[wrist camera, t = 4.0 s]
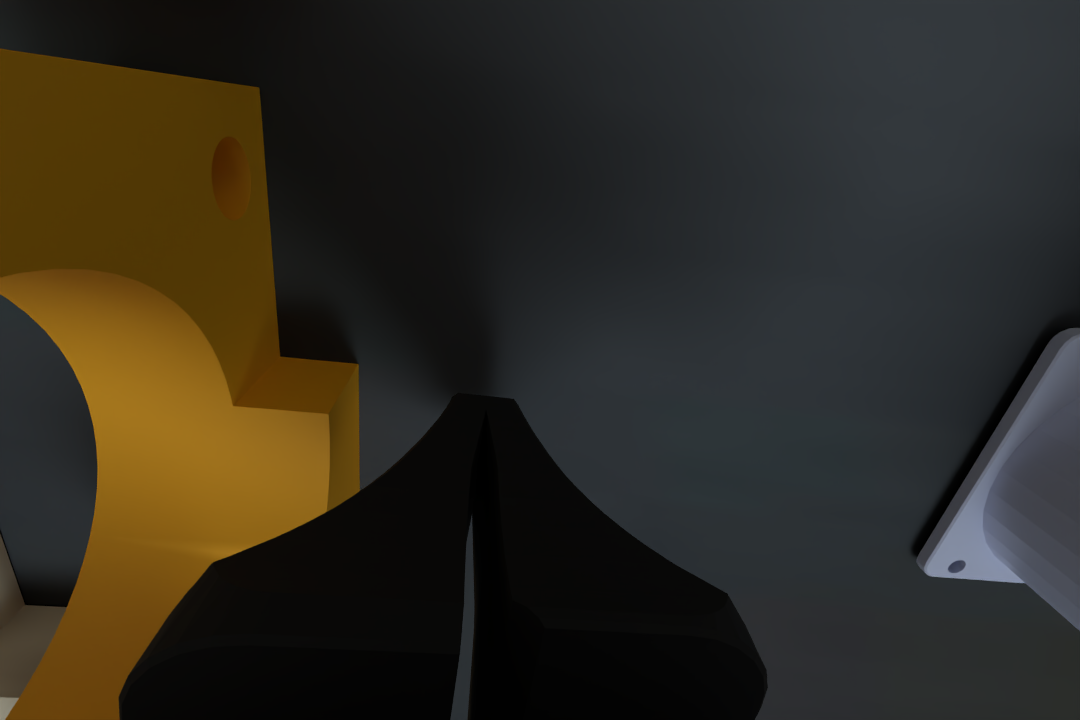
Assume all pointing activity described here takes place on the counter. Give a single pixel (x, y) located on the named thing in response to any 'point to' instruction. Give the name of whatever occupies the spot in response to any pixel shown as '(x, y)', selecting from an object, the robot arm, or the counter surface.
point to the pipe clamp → (159, 346)
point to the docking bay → (20, 635)
